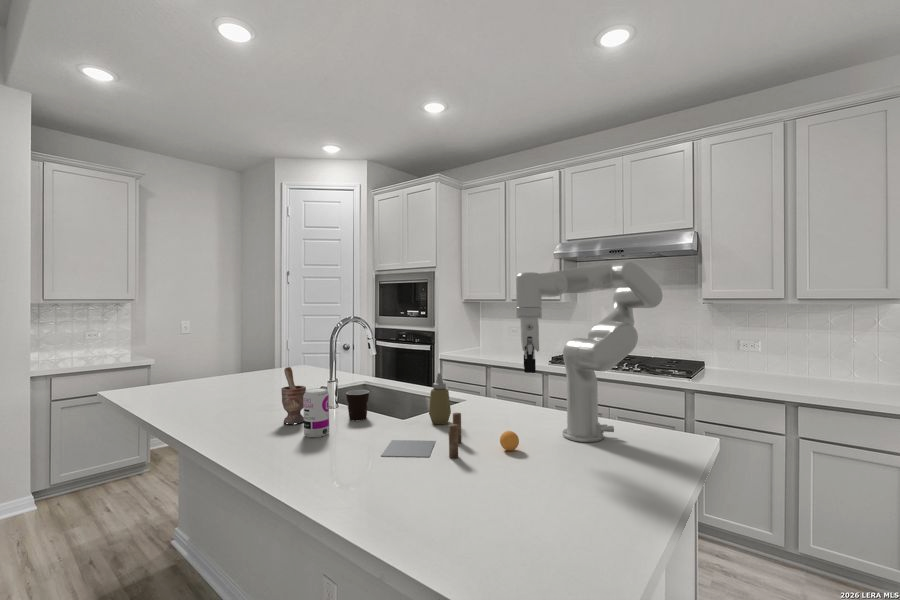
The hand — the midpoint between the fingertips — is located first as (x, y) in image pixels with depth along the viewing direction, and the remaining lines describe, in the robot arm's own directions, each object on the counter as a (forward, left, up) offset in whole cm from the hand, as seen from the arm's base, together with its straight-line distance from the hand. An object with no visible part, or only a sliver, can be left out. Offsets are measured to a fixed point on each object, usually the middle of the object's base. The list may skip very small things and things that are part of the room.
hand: (529, 369), depth 131 cm
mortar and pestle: (+86, -23, -23) cm, 93 cm away
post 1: (+22, -3, -23) cm, 32 cm away
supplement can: (+70, -8, -23) cm, 75 cm away
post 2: (+22, +10, -23) cm, 34 cm away
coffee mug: (+62, -30, -23) cm, 73 cm away
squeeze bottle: (+30, -24, -23) cm, 46 cm away
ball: (+6, +4, -20) cm, 22 cm away
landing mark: (+36, +4, -23) cm, 43 cm away
